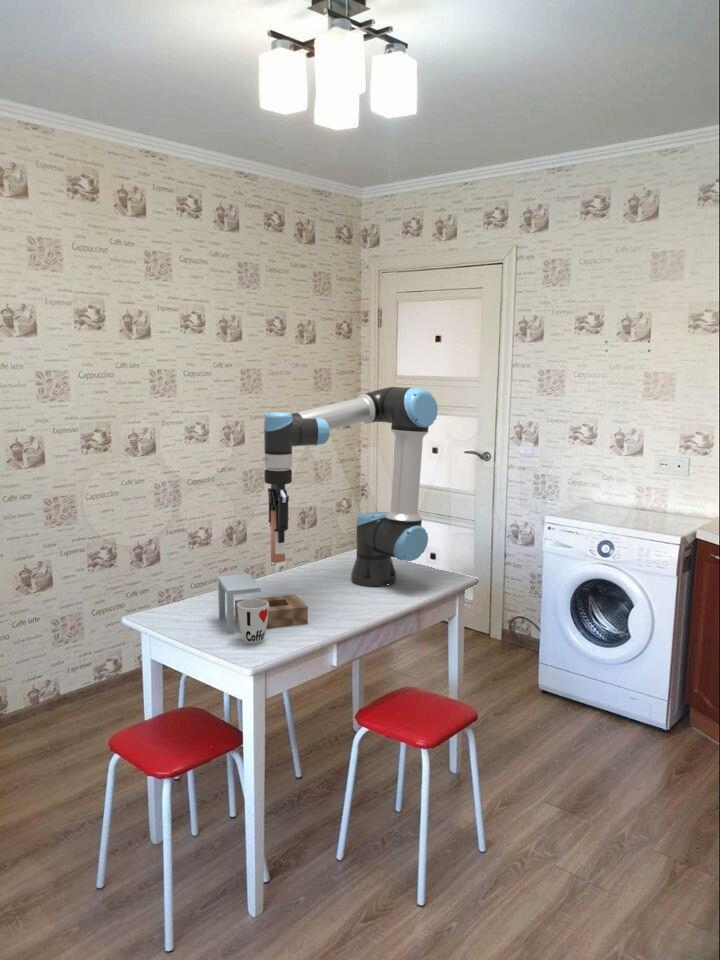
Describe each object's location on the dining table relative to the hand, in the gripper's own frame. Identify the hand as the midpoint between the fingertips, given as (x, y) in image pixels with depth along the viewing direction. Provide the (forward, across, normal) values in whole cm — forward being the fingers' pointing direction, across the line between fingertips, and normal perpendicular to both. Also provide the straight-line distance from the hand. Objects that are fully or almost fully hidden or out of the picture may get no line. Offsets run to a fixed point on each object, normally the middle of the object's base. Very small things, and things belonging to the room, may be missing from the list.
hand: (278, 551), depth 212 cm
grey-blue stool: (+20, 0, -11) cm, 23 cm away
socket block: (+20, 0, -2) cm, 20 cm away
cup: (+20, +13, -10) cm, 26 cm away
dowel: (+3, 0, 0) cm, 3 cm away
